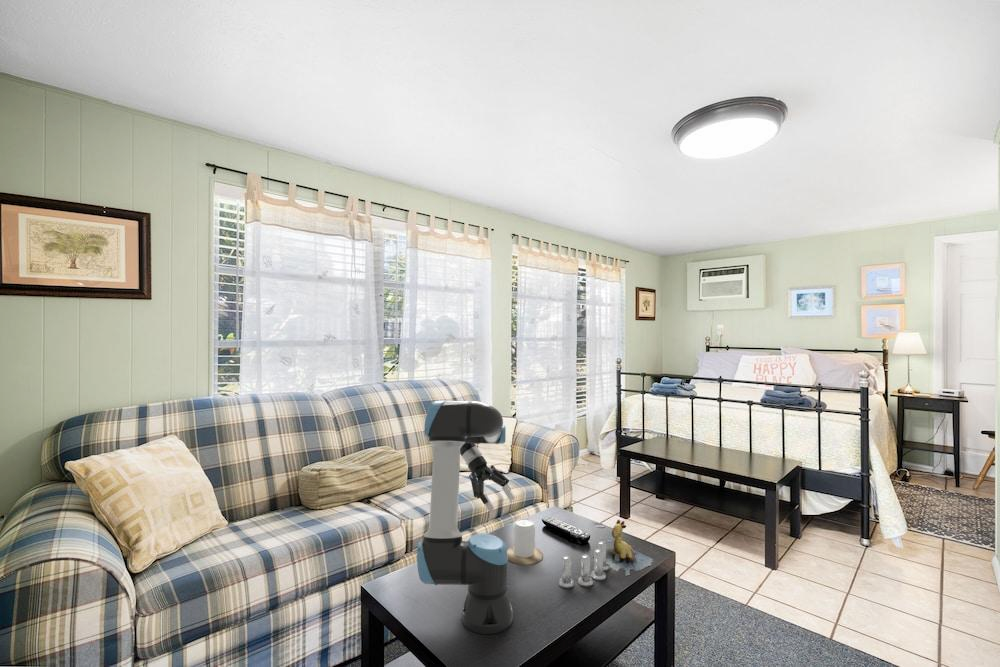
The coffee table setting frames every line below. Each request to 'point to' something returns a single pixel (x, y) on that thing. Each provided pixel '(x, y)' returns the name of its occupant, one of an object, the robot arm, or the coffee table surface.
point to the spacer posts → (586, 568)
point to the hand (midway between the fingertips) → (502, 504)
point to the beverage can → (524, 538)
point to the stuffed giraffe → (624, 553)
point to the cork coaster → (524, 561)
